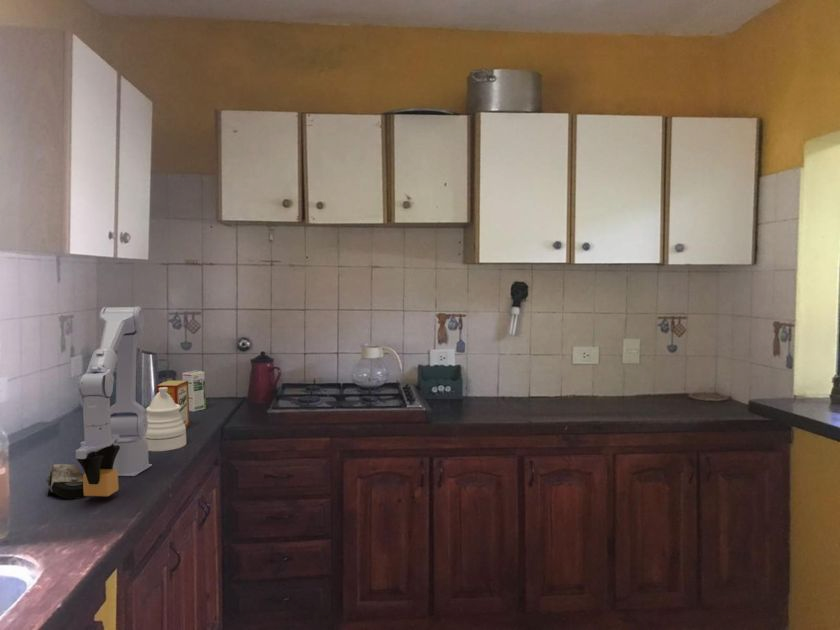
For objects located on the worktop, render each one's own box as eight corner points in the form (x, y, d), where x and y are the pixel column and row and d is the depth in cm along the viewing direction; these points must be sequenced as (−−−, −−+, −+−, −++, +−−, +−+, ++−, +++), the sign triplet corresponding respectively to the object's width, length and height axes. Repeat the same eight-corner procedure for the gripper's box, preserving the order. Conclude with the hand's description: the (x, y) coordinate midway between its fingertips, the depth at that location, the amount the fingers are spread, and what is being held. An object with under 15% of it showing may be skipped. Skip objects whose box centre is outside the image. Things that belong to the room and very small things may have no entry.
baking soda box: (170, 425, 231) (169, 379, 230) (189, 425, 231) (187, 379, 229) (158, 432, 222) (156, 384, 220) (178, 432, 221) (176, 384, 220)
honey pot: (190, 447, 205) (188, 388, 203) (145, 453, 198) (142, 392, 197) (181, 437, 216) (179, 381, 214) (138, 443, 209) (136, 385, 208)
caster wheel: (90, 506, 163) (43, 507, 158) (90, 483, 172) (45, 483, 168) (94, 481, 161) (46, 481, 157) (93, 459, 171) (48, 459, 166)
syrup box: (193, 412, 252) (192, 373, 250) (183, 410, 255) (182, 372, 254) (206, 409, 256) (205, 371, 255) (196, 407, 260) (194, 369, 258)
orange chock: (93, 489, 163) (92, 468, 162) (118, 489, 162) (117, 469, 162) (82, 495, 158) (81, 474, 158) (108, 496, 158) (107, 475, 157)
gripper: (99, 416, 167) (101, 470, 168) (61, 431, 152) (64, 490, 153) (126, 416, 166) (128, 471, 167) (91, 431, 151) (94, 490, 152)
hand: (100, 480), depth 160 cm, fingers closed on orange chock, 4 cm apart
